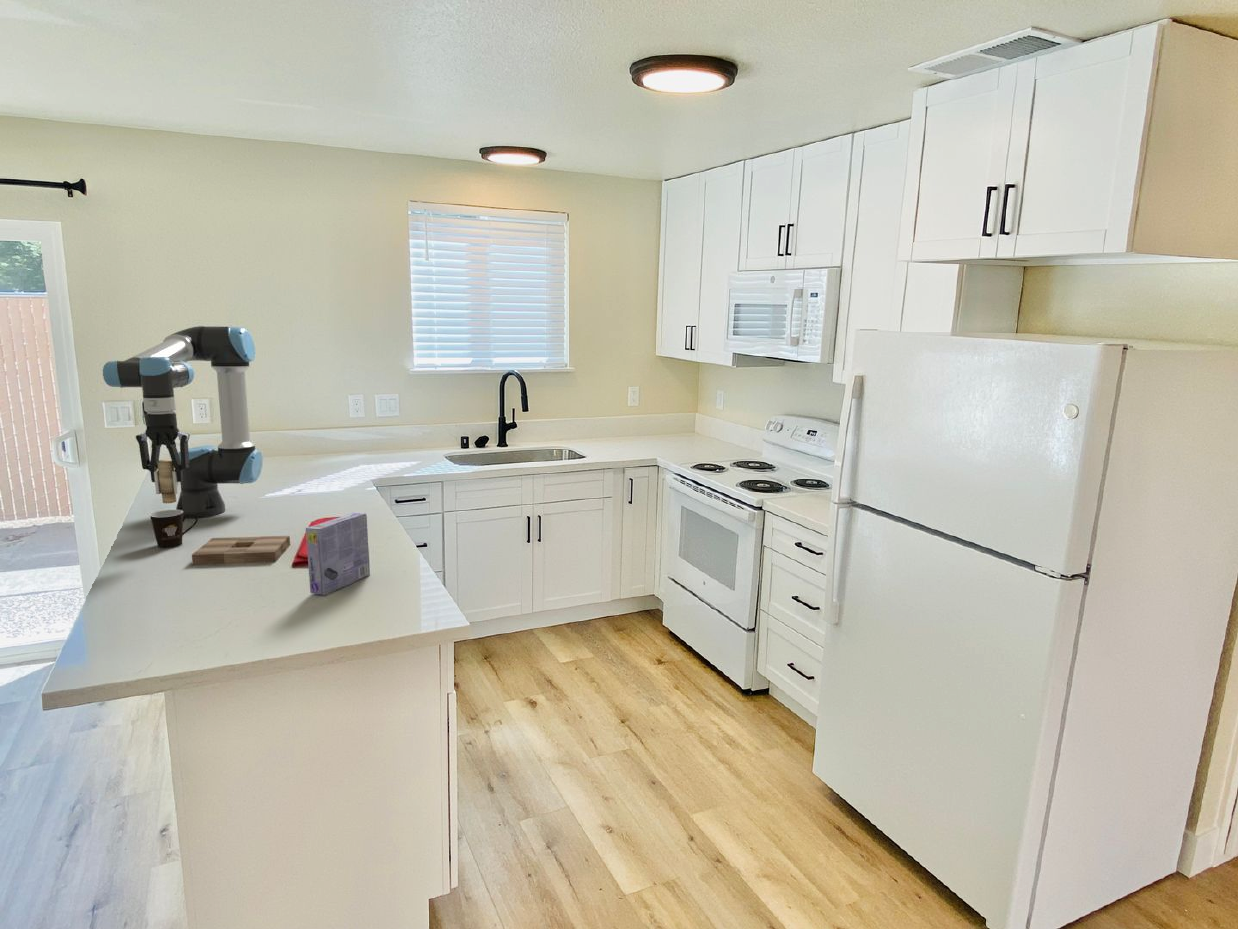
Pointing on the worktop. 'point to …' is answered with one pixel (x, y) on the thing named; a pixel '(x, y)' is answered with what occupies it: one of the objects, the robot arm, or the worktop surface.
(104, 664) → the worktop surface
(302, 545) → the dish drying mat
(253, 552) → the walnut board
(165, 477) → the oak peg
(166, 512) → the coffee mug
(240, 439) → the robot arm
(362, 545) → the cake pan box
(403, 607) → the worktop surface
